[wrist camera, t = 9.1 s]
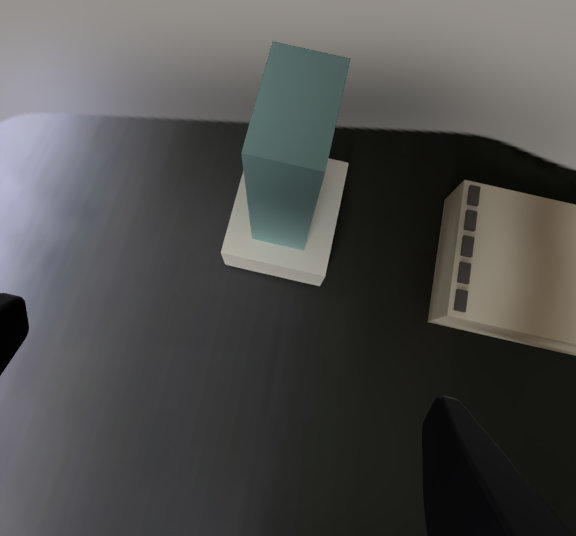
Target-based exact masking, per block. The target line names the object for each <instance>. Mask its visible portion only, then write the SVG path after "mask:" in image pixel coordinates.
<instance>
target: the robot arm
mask: <svg viewBox="0 0 576 536" xmlns="http://www.w3.org/2000/svg"><path fill="white" fill-rule="evenodd" d="M28 331H29V324H28V317H27V311H26V304H25V301H24V299H23V298H21V297H20V296H16V295H11V294H7V293H0V375H1V374H2V372H3V371H4V369H5V368H6V367H7V365H8V364H9V362H10V361H11V359H12V358H13V356H14V355H15V353H16V352H17V350H18V349H19V347H20V346H21V344H22V343H23V341H24V340H25V338H26V336H27V334H28ZM422 454H423V497H424V509H425V518H426V526H427V534H428V536H573V535H572V534H571V533H570V532H569V531H568V529H567V528H566V527H565V526H564V525H563V523H562V522H561V521H560V520H559V519H558V517H557V516H556V515H555V514H554V513H553V512H552V510H551V509H550V508H549V507H548V506H547V504H546V503H545V502H544V501H543V500H542V498H541V497H540V496H539V495H538V494H537V492H536V491H535V490H534V489H533V488H532V486H531V485H530V484H529V483H528V482H527V480H526V479H525V478H524V477H523V476H522V474H521V473H520V472H519V471H518V470H517V468H516V467H515V466H514V465H513V464H512V463H511V461H510V460H509V459H508V458H507V457H506V455H505V454H504V453H503V452H502V451H501V449H500V448H499V447H498V446H497V445H496V443H495V442H494V441H493V440H492V439H491V437H490V436H489V435H488V434H487V433H486V431H485V430H484V429H483V428H482V427H481V425H480V424H479V423H478V422H477V421H476V419H475V418H474V417H473V416H472V415H471V414H470V412H469V411H468V410H467V409H466V408H465V406H464V405H463V404H462V403H461V402H460V401H459V400H458V399H455V398H451V397H447V396H442V395H441V396H438V397H437V398H436V399H435V401H434V402H433V404H432V406H431V408H430V410H429V412H428V414H427V416H426V418H425V420H424V422H423V427H422Z"/></svg>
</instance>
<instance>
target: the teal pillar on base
mask: <svg viewBox="0 0 576 536" xmlns="http://www.w3.org/2000/svg"><path fill="white" fill-rule="evenodd" d="M349 62H350V58H345V57H340V56H336V55H332V54H327V53H323V52H318V51H314V50H309V49H305V48H300V47H296V46H291V45H287V44H282V43H277V42H272V46H271V49H270V53H269V56H268V60H267V63H266V67H265V71H264V74H263V78H262V82H261V85H260V88H259V92H258V95H257V99H256V103H255V106H254V110H253V113H252V117H251V120H250V124H249V128H248V131H247V135H246V138H245V142H244V145H243V149H242V153H241V154H242V162H243V174H242V177H241V181H240V185H239V188H238V192H237V196H236V199H235V203H234V206H233V210H232V214H231V217H230V221H229V225H228V228H227V232H226V235H225V239H224V243H223V246H222V250H221V255H222V257H223V260H224V262H225V265H229V266H234V267H238V268H242V269H247V270H251V271H255V272H260V273H264V274H269V275H273V276H277V277H282V278H286V279H290V280H295V281H299V282H304V283H308V284H312V285H317V286H320V285H321V283H322V281H323V280H324V278H325V275H326V270H327V265H328V261H329V256H330V251H331V246H332V241H333V236H334V232H335V227H336V222H337V217H338V212H339V208H340V203H341V198H342V193H343V188H344V183H345V179H346V174H347V169H348V164H349V163H347V162H342V161H338V160H334V159H329V153H330V149H331V144H332V140H333V135H334V131H335V126H336V122H337V117H338V112H339V108H340V103H341V99H342V94H343V90H344V85H345V81H346V76H347V72H348V67H349Z"/></svg>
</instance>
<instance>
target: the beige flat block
mask: <svg viewBox="0 0 576 536" xmlns="http://www.w3.org/2000/svg"><path fill="white" fill-rule="evenodd" d="M428 322H430V323H435V324H439V325H444V326H448V327H452V328H457V329H461V330H465V331H470V332H474V333H478V334H483V335H487V336H492V337H496V338H500V339H505V340H509V341H513V342H518V343H522V344H527V345H531V346H535V347H540V348H544V349H548V350H553V351H557V352H562V353H566V354H570V355H575V356H576V205H575V204H570V203H566V202H561V201H557V200H552V199H548V198H544V197H539V196H535V195H530V194H526V193H521V192H517V191H512V190H508V189H503V188H499V187H495V186H490V185H486V184H481V183H477V182H472V181H468V180H464V181H463V182H462V183H461V184H460V185H459V186H458V187H457V188H456V189H455V190H454V191H453V192H452V193H451V194H450V195H449V196H448V197H447V198H446V199H445V202H444V209H443V216H442V223H441V230H440V237H439V244H438V252H437V259H436V266H435V273H434V280H433V287H432V294H431V302H430V309H429V316H428Z"/></svg>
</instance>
